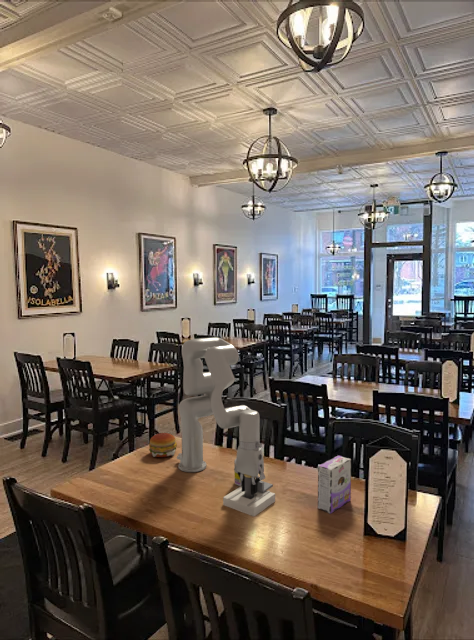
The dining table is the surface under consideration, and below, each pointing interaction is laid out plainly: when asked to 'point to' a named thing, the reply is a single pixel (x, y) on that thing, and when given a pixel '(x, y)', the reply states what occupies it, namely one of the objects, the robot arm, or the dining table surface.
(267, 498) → the socket
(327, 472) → the candy box
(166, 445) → the burger
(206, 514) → the dining table surface
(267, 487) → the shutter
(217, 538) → the dining table surface
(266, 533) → the dining table surface
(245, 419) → the robot arm
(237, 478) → the supplement bottle
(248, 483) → the plug
